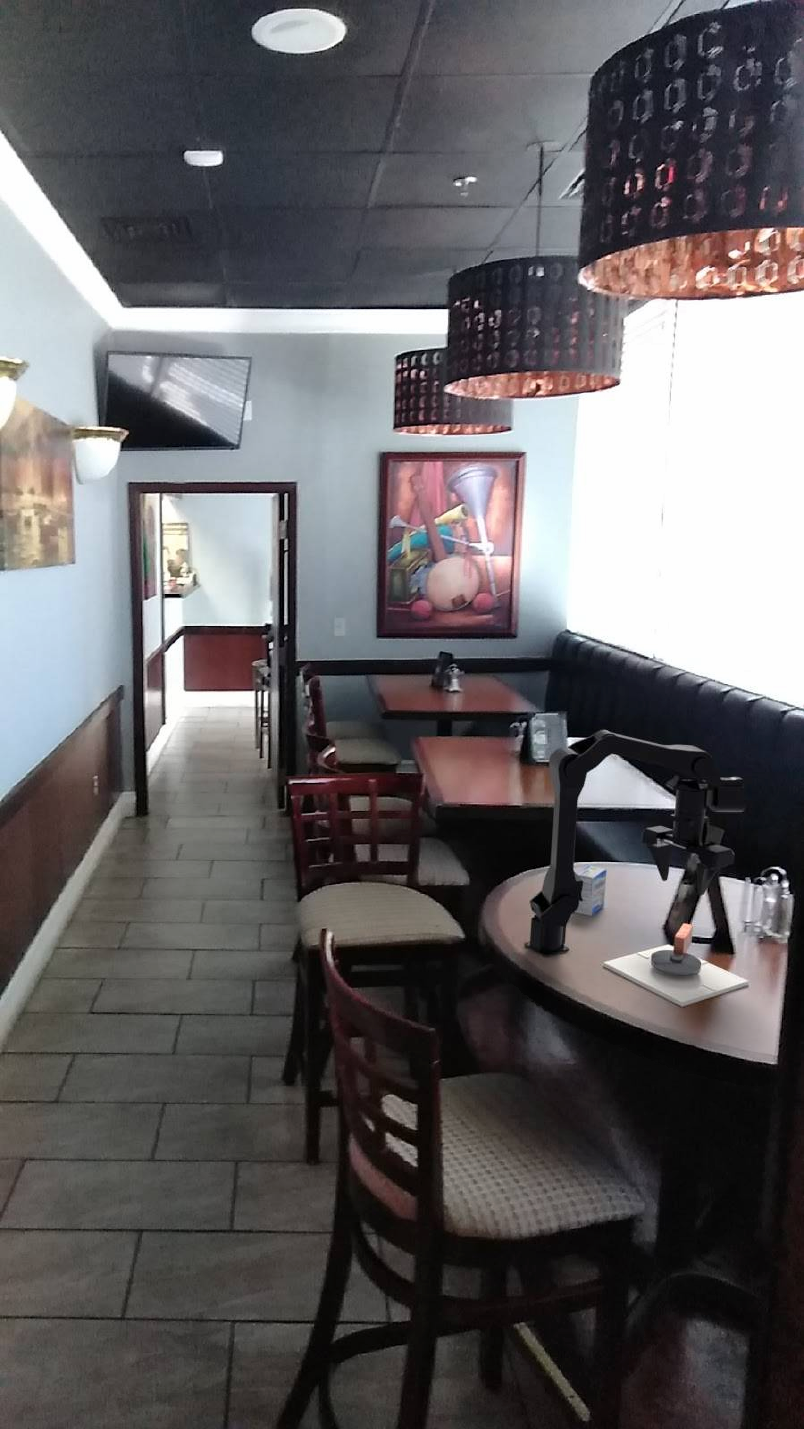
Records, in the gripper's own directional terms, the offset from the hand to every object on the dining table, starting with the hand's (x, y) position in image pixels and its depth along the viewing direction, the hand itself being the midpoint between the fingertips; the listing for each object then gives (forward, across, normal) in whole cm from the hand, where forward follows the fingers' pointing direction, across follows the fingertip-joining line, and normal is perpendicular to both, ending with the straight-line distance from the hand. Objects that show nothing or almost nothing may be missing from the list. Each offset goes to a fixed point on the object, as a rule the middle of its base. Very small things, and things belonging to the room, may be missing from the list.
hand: (682, 887), depth 198 cm
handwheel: (+11, -8, +9) cm, 16 cm away
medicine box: (+13, +24, +1) cm, 27 cm away
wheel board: (+12, -9, +11) cm, 19 cm away
